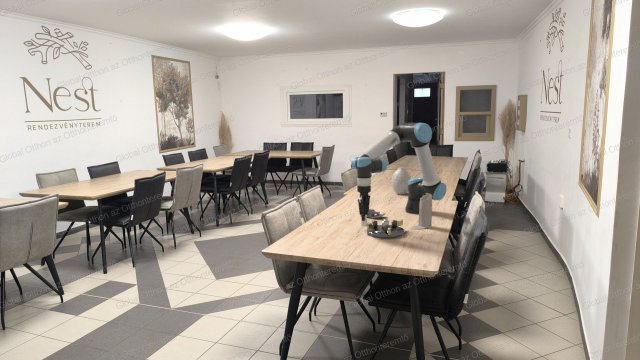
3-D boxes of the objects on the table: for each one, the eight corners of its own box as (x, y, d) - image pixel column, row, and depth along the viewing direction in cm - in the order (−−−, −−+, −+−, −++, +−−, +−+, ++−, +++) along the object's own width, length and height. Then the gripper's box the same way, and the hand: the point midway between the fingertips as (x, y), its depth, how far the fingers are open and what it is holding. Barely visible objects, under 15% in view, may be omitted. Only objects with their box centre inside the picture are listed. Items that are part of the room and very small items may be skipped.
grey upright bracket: (407, 227, 249) (407, 194, 246) (426, 224, 254) (427, 192, 251) (414, 230, 243) (414, 196, 239) (434, 227, 248) (434, 194, 245)
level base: (400, 227, 249) (400, 214, 248) (407, 238, 228) (408, 223, 227) (364, 228, 249) (364, 215, 247) (369, 239, 228) (369, 224, 227)
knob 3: (393, 228, 239) (394, 221, 238) (390, 227, 242) (390, 219, 241) (404, 226, 243) (404, 219, 242) (400, 225, 246) (400, 217, 245)
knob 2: (384, 231, 233) (384, 224, 233) (389, 231, 233) (389, 224, 233) (386, 235, 226) (386, 228, 225) (392, 235, 226) (392, 227, 225)
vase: (388, 192, 354) (389, 166, 351) (407, 191, 356) (408, 165, 352) (394, 196, 338) (394, 168, 335) (413, 195, 340) (414, 168, 337)
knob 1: (374, 226, 243) (374, 219, 243) (378, 227, 241) (378, 220, 240) (365, 229, 238) (365, 222, 238) (369, 230, 236) (369, 223, 235)
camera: (364, 197, 279) (385, 199, 272) (364, 214, 281) (385, 217, 274) (359, 200, 272) (381, 202, 265) (359, 217, 274) (381, 220, 267)
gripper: (362, 182, 241) (362, 222, 245) (353, 186, 230) (353, 228, 234) (374, 183, 238) (374, 224, 241) (365, 187, 226) (365, 229, 230)
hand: (364, 225), depth 238 cm, fingers closed
